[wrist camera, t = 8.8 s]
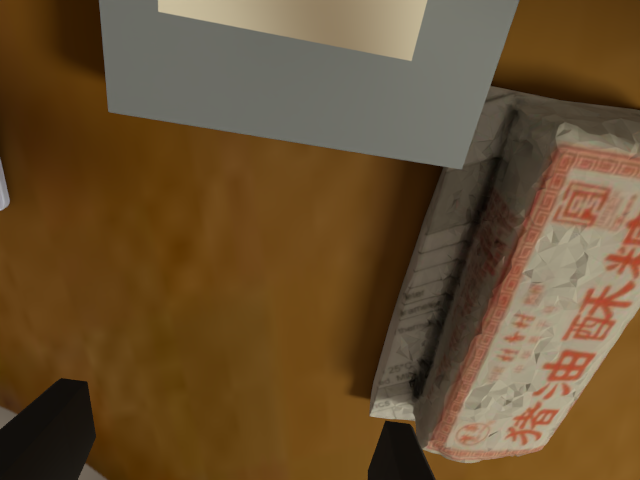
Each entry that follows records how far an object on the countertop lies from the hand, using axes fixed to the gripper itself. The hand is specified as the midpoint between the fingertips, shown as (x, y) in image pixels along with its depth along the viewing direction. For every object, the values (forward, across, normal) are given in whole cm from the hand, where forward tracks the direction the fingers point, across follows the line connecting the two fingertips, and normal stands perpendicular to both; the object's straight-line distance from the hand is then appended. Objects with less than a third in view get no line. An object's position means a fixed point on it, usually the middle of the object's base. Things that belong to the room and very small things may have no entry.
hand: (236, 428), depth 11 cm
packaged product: (+11, -11, +2) cm, 16 cm away
